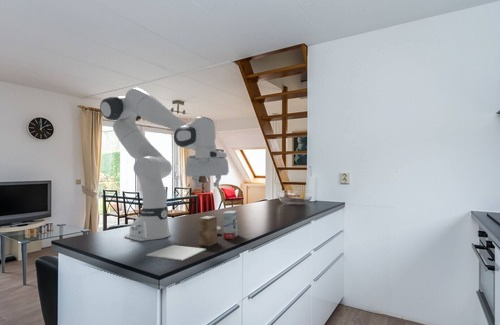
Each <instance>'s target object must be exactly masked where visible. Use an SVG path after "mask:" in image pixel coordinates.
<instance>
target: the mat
mask: <svg viewBox="0 0 500 325" xmlns="http://www.w3.org/2000/svg"><path fill="white" fill-rule="evenodd" d="M204 251H207V248H203V247H202V248H201V247H194V246H193V247H192V246H182V245H175V244H174V245H173V244H172V245H169V246H166V247H164V248H161V249H159V250H158V249H157V250H155V251H152V252H150V253H147V254H146V256H147V257H152V258H153V257H154V258H160V259H168V260H176V261H182V262H183V261H185V260H188V259H190V258H191V257H194V256H196V255H198V254H200V253H203V252H204Z"/></svg>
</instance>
